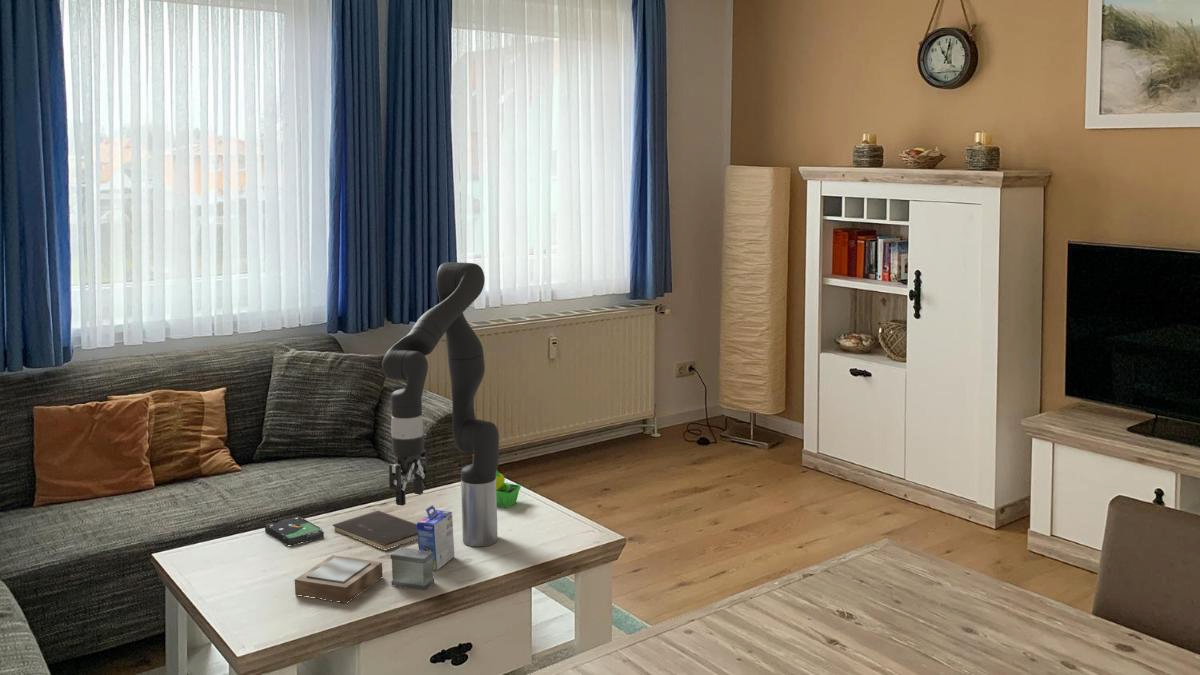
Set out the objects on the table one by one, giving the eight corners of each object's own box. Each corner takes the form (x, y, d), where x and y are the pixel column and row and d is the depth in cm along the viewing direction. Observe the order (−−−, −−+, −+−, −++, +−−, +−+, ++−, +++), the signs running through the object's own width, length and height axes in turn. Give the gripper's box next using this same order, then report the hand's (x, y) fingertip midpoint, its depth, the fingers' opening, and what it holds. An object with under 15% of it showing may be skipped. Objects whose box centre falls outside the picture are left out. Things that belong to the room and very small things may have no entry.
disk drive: (264, 534, 297) (289, 548, 286) (263, 524, 296) (289, 538, 285) (299, 525, 304) (325, 538, 293) (298, 515, 303) (324, 528, 292)
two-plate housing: (401, 578, 265) (400, 547, 264) (434, 582, 262) (433, 551, 261) (391, 585, 261) (390, 554, 259) (424, 590, 258) (423, 558, 256)
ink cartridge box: (436, 554, 280) (434, 500, 278) (455, 556, 279) (453, 502, 276) (417, 568, 271) (415, 513, 269) (437, 571, 269) (435, 515, 267)
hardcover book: (384, 553, 282) (384, 544, 282) (332, 532, 297) (332, 524, 297) (432, 536, 294) (431, 528, 294) (380, 517, 309) (379, 509, 309)
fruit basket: (522, 501, 321) (521, 464, 319) (507, 510, 313) (507, 473, 311) (488, 496, 325) (488, 460, 323) (473, 505, 317) (472, 468, 315)
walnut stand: (333, 570, 270) (332, 553, 269) (382, 577, 266) (381, 560, 265) (295, 595, 255) (294, 578, 254) (346, 603, 251) (346, 585, 250)
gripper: (406, 442, 247) (409, 510, 250) (436, 427, 260) (438, 491, 263) (377, 439, 249) (380, 507, 252) (408, 424, 263) (410, 488, 266)
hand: (409, 499), depth 258 cm, fingers open, 8 cm apart
